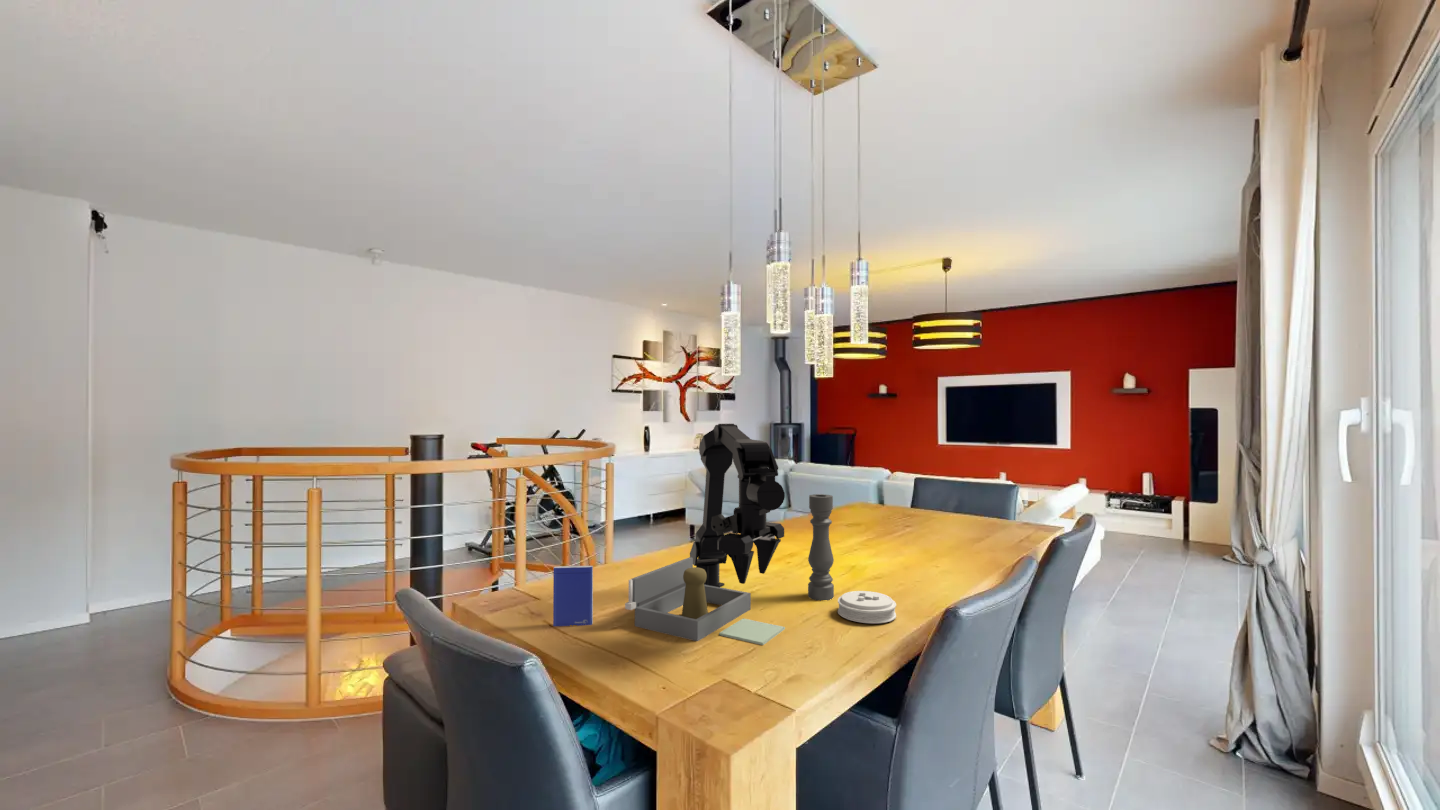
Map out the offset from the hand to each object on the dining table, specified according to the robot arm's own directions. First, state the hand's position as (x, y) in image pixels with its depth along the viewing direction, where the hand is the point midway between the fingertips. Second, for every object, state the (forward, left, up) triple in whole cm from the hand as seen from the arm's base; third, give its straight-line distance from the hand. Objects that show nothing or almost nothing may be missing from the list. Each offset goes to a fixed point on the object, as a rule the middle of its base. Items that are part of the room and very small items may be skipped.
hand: (752, 578), depth 125 cm
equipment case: (-1, -15, -11) cm, 19 cm away
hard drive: (+16, -35, -12) cm, 40 cm away
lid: (-22, +17, -12) cm, 30 cm away
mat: (0, 0, -11) cm, 11 cm away
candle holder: (-29, +3, -12) cm, 31 cm away
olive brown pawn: (-1, -15, -12) cm, 19 cm away
